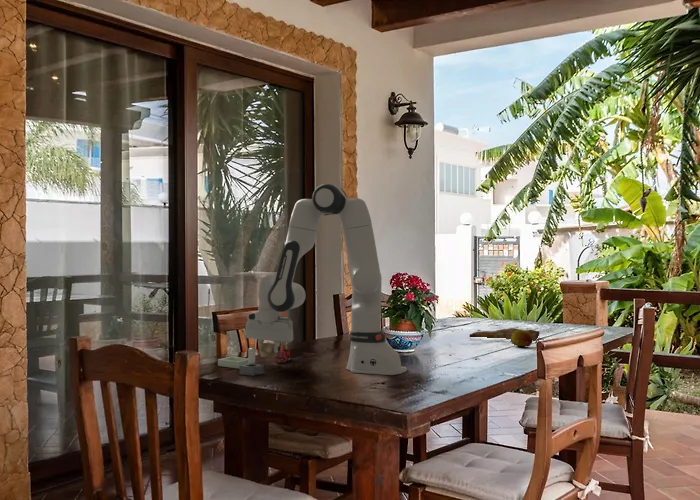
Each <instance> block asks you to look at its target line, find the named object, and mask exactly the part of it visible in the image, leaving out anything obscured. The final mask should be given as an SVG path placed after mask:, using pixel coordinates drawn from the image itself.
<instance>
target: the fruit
mask: <svg viewBox="0 0 700 500" xmlns="http://www.w3.org/2000/svg"><path fill="white" fill-rule="evenodd" d="M521 330H522V329H521ZM521 330H516V331H514V332H513V334H512V336H511V342H510V343H512V345H513V344H514V346H515V345H518V346H529V347H530V346H531V345H532V344H533V343H532V336H531V334H530V332H528V331H521Z"/></svg>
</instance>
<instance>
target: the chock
mask: <svg viewBox="0 0 700 500" xmlns="http://www.w3.org/2000/svg"><path fill="white" fill-rule="evenodd" d="M274 346H275V344H274V342H271V341H270V342H269V341H268V342H263V343H262V344H261V351H260V358H266V359H267V358H268V359H271V358H274V357H275V358H276V356H277V353H272V348H274Z"/></svg>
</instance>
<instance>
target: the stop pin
mask: <svg viewBox="0 0 700 500" xmlns="http://www.w3.org/2000/svg"><path fill="white" fill-rule="evenodd" d="M247 358H248V366H255V364H256V347H249V348H248V355H247Z"/></svg>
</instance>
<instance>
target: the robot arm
mask: <svg viewBox="0 0 700 500" xmlns="http://www.w3.org/2000/svg"><path fill="white" fill-rule="evenodd" d="M312 192H313V193H312V196H311V197H312V198H301V199H299V200H297V201H296V203H295V204H294V207H293V209H292V212H291V215H290V220H289V223H288V228H287V234H286V239H285V243H284V245H283V246H284V247H283V250H282V253H281V256H280V259H279V264H278V268H277V270H276V271H277V272H276V273H270V274H269V273H268V274H264V275H262V276H261V277H260V279H259V284H258V291H257V293H258V295H257V296H258V306H257V311H254V312H250V313H247V315H246V319H247V321H246V322H245V329H244V330H245V331H244V333H245V337H246V339H250V340H251V339H252V340H257V343H258V346H259V351H260V352H261V344H262V343H265V341H270V342H271V341H272V342H273V343H274V344H275V346H274V348H272V353H277V352H278V351H279V350H278V348H279V347H280V346H281V343H282V342H286V343H289V342H293V341H294V340H293V336H294V329H293V328H294V327H293V326H294V325H293V323H294V322H293V320H292V318H290V317H286V316H285V317H284V316H282V313H284V312H286V311H289V310H292V309H296V308H299V307H300V306H302V305H303V304H304V303H305V302H306V298H307V292H306V290H305V288H304V287H303V285H301V284H300V283H296V282H294V279H295V273H296V269H297V266H298V263H299V261H300V260H301V258H302V257H303V256H304V255H305V254H307V253H308V252H309V251H310V250H312V249H313V248H314V245H315V243H316V240H317V236H318V230H319V225H320V221H321V218H322V217H324V216H330V215H333V216H334V215H337V216H338V217H339V219H340V221H341V222H340V223H341V227H342V234H343V239H344V244H345V251H346V256H347V263H348V265H347V266H348V270H349V277H350V283H351V286H352V290H351V316H350V317H351V318H350V325H351V326H350V327H351V328H350V329H351V330H350V331H349V345H350V346H349V347H350V348H349V355H348V361H347V365H346V367H345V368H346V369H347V371H350V372H351V373H354V374H355V373H357V374H368V375H370V374H371V375H385V376H395V375H396V376H397V375H401V374H404V373H406V372H408V368H407V367H406V366H402V362H401V356H400V354H399V353H398V351H396V350H395V349H394V348H393V347H392V346H391V345H389V344H388V343H387V342H386V338H387V337H388V336H387V335H388V334H387V333H384V332H382V328H381V327H382V278H383V277H382V273H381V269H380V263H379V258H378V257H379V256H378V251H377V245H376V239H375V234H374V229H373V223H372V219H371V215H370V212H369V209H368V207H367V203H366V202H365V200H363V199H362V198H359V197H351V198H348V197H347V193H346V192H345V191H344V189H342V188H341V187H339V186H338V185H335V184H331V183H322V184H320V185H318V186H317V187H316V188H315V189H314V191H312ZM292 340H293V341H292Z"/></svg>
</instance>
